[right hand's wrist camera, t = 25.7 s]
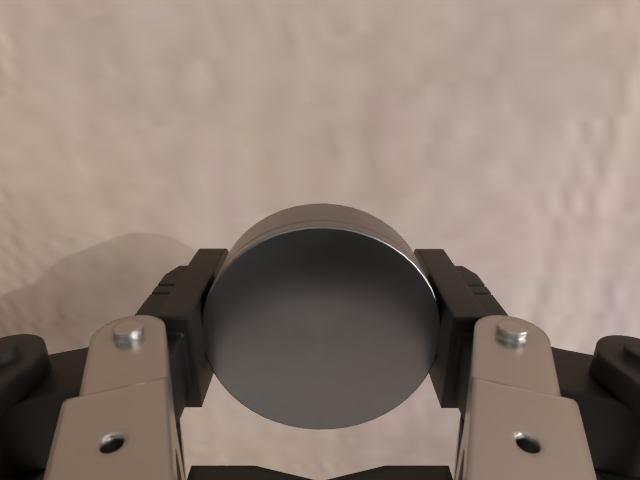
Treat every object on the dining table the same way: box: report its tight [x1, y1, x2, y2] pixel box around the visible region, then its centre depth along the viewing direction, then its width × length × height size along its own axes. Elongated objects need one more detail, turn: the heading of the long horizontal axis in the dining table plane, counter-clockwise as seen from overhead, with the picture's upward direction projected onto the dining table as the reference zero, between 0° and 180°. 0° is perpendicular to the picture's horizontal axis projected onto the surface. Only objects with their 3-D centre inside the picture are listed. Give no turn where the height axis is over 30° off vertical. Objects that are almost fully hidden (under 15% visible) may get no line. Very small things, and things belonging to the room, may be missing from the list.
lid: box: [202, 204, 441, 429], centre depth 10 cm, size 5×5×2 cm
